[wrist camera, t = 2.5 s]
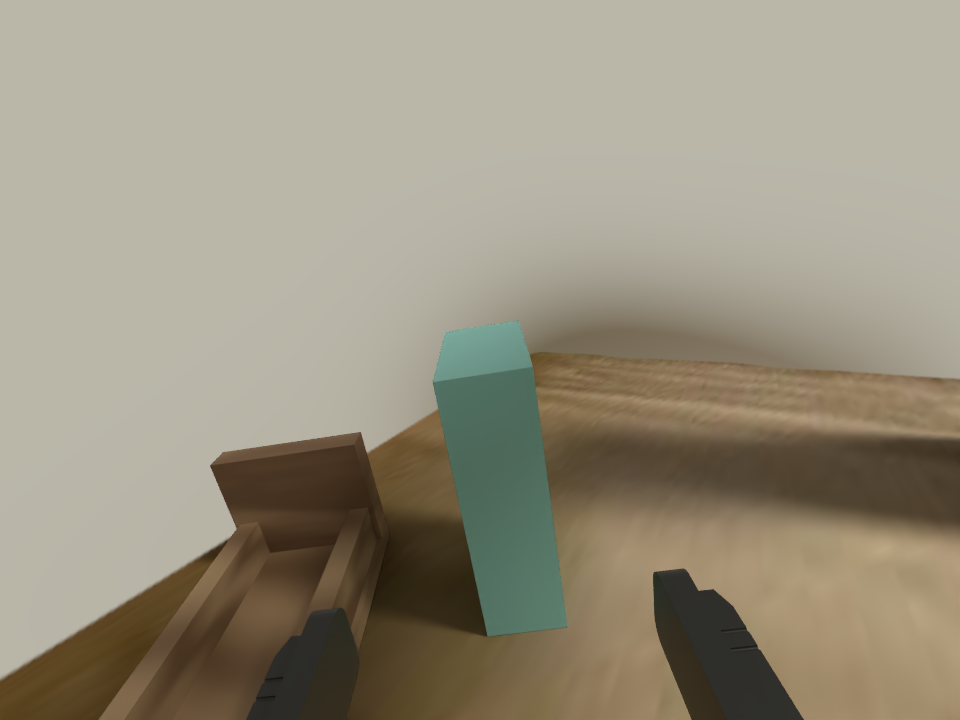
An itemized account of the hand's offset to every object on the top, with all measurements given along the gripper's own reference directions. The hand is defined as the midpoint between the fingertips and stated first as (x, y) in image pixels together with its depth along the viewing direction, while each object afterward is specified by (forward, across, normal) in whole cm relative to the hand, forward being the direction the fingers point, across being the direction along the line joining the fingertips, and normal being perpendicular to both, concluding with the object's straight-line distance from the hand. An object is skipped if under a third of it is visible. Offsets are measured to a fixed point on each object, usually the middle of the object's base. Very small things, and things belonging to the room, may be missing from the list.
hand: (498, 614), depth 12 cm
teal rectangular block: (+12, 0, +10) cm, 16 cm away
